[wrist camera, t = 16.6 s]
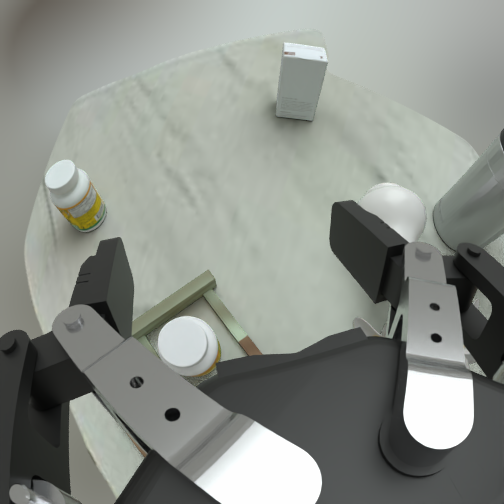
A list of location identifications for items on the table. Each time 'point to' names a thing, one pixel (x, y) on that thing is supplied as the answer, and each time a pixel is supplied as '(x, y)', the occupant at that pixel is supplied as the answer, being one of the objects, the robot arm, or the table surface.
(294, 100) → the skincare box
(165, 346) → the supplement bottle
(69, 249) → the table surface
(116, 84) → the table surface
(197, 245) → the table surface
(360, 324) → the flower vase
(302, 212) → the table surface
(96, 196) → the supplement bottle
